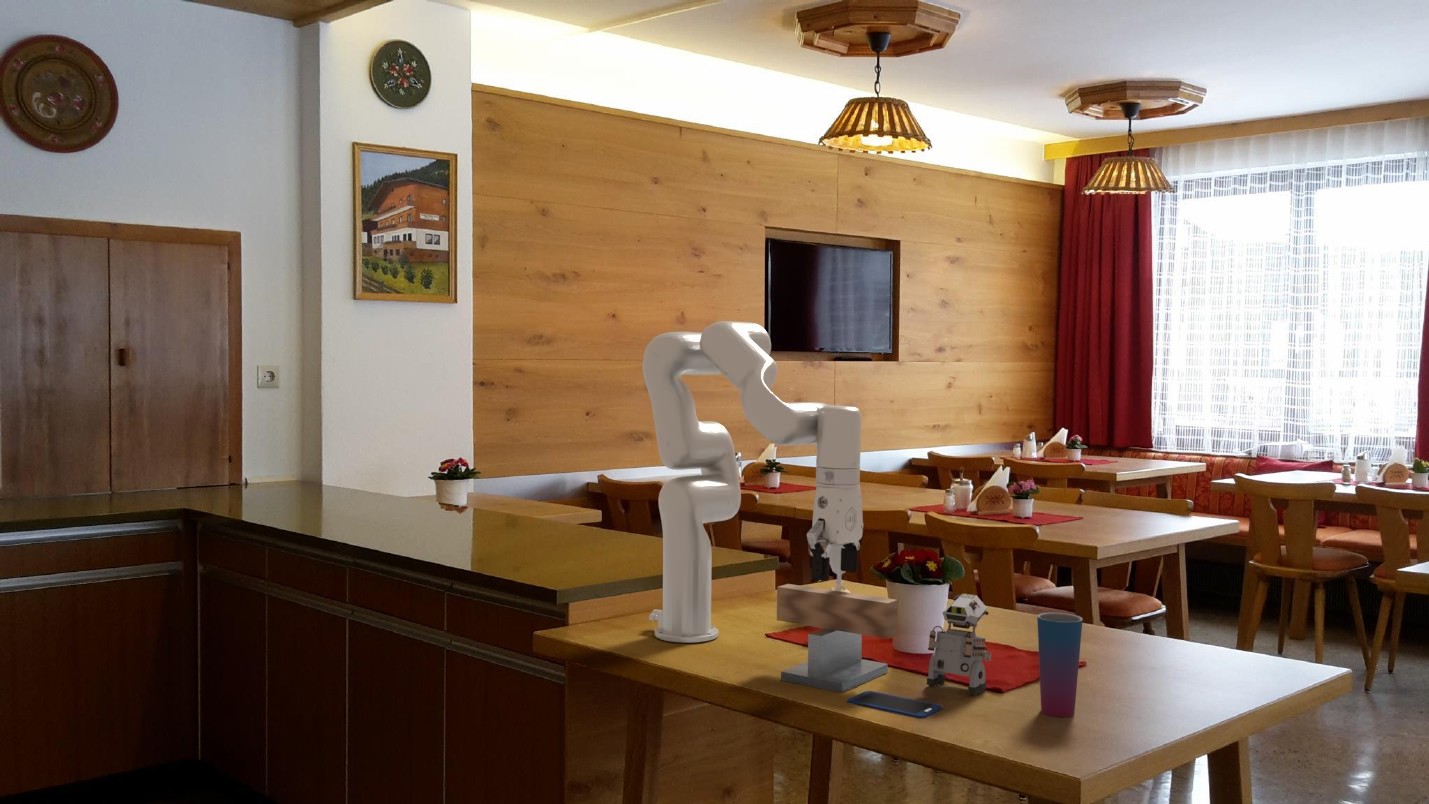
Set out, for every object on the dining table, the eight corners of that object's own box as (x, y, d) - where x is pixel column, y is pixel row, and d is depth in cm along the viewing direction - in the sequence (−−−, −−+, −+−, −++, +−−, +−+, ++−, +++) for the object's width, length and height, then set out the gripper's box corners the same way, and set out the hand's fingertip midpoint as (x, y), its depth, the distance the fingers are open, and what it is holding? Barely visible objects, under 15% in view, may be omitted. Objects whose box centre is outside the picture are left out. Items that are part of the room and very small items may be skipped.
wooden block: (897, 635, 197) (897, 599, 197) (887, 639, 194) (887, 603, 194) (787, 616, 210) (787, 583, 210) (776, 620, 207) (777, 586, 207)
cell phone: (923, 721, 179) (923, 716, 179) (844, 704, 187) (844, 699, 187) (944, 710, 185) (944, 705, 185) (866, 694, 193) (866, 689, 193)
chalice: (856, 617, 249) (857, 533, 248) (824, 617, 249) (825, 533, 248) (852, 610, 256) (853, 528, 256) (821, 609, 256) (822, 528, 256)
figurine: (1002, 684, 199) (1003, 597, 198) (969, 699, 190) (971, 607, 189) (954, 674, 204) (955, 589, 204) (920, 688, 196) (922, 599, 195)
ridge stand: (780, 680, 200) (781, 630, 199) (828, 661, 213) (829, 615, 212) (841, 692, 193) (842, 641, 192) (887, 672, 205) (888, 624, 205)
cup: (1028, 705, 186) (1030, 612, 186) (1070, 705, 187) (1072, 612, 186) (1044, 719, 180) (1046, 622, 179) (1087, 718, 180) (1089, 621, 180)
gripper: (830, 483, 192) (827, 586, 193) (881, 475, 206) (878, 571, 207) (792, 479, 197) (789, 580, 197) (844, 471, 211) (841, 565, 211)
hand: (834, 575), depth 202 cm, fingers open, 9 cm apart
